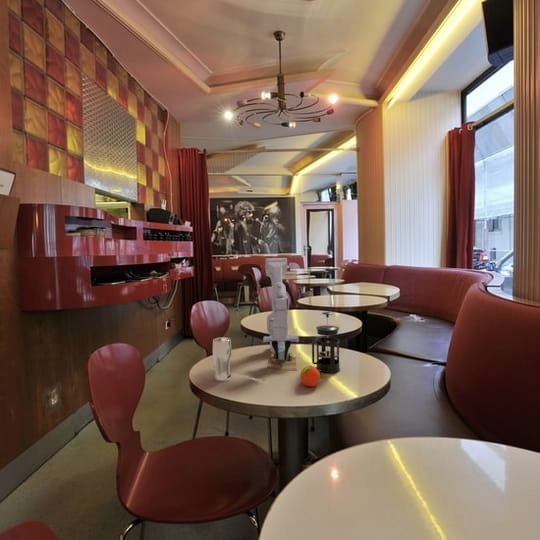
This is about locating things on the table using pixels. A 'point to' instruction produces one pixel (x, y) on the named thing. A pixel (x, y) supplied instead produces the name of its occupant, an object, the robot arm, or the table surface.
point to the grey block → (282, 354)
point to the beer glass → (222, 358)
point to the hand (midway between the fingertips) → (281, 359)
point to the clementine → (310, 376)
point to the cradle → (281, 364)
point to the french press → (327, 356)
